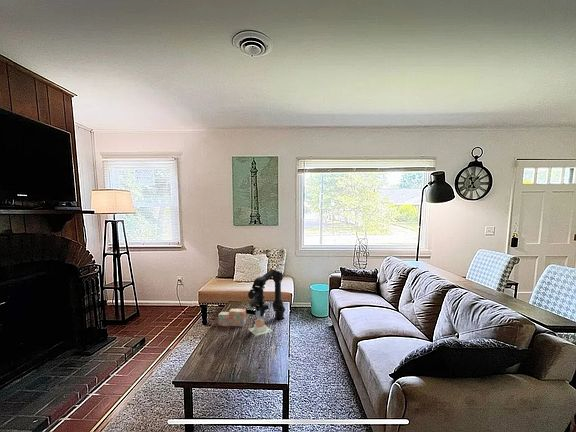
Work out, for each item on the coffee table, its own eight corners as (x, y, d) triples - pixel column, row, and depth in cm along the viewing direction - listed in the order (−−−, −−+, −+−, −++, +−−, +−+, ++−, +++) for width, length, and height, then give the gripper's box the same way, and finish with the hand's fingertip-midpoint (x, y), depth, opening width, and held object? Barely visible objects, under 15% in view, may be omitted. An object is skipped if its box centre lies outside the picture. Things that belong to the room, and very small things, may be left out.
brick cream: (262, 327, 214) (262, 322, 214) (266, 330, 208) (266, 325, 208) (254, 329, 210) (253, 324, 210) (257, 332, 204) (257, 328, 204)
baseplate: (264, 325, 219) (264, 324, 219) (272, 331, 207) (272, 330, 207) (247, 329, 211) (247, 328, 211) (255, 336, 200) (255, 335, 199)
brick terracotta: (261, 323, 213) (261, 318, 212) (264, 325, 208) (264, 320, 208) (255, 324, 210) (255, 319, 210) (258, 327, 206) (258, 322, 206)
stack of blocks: (218, 325, 219) (217, 310, 219) (221, 322, 225) (221, 307, 225) (244, 327, 216) (243, 311, 216) (246, 324, 222) (246, 309, 222)
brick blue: (261, 315, 212) (261, 310, 212) (264, 317, 208) (264, 312, 208) (255, 316, 210) (255, 311, 210) (258, 318, 205) (258, 313, 205)
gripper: (244, 294, 212) (245, 314, 213) (255, 300, 196) (255, 322, 197) (257, 291, 218) (258, 311, 218) (268, 297, 202) (269, 318, 203)
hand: (260, 315), depth 209 cm, fingers closed on brick blue, 5 cm apart
